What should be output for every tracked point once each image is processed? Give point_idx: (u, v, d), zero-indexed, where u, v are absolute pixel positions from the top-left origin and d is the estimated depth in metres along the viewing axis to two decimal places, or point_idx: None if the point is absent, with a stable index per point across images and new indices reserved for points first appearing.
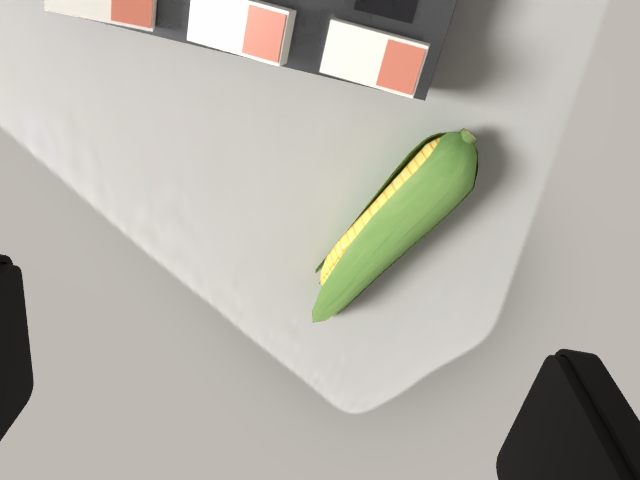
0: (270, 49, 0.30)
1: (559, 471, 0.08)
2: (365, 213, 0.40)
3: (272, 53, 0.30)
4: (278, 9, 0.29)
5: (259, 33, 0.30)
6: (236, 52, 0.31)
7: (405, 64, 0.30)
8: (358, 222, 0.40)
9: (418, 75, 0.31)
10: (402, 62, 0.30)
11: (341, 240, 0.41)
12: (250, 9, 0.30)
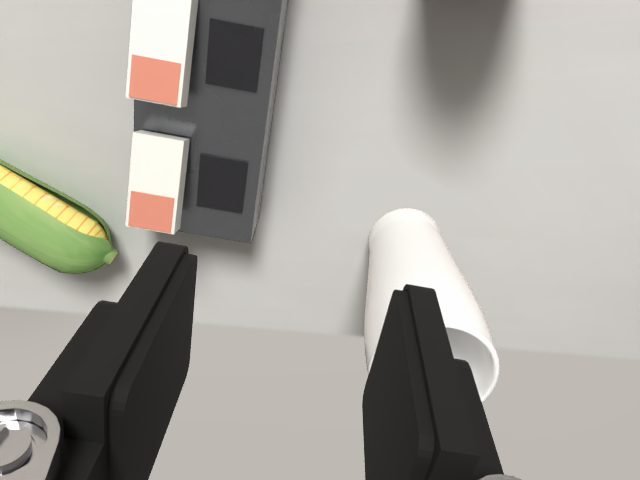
0: (140, 88, 0.29)
1: (387, 387, 0.09)
2: (2, 170, 0.36)
3: (137, 90, 0.29)
4: (180, 95, 0.29)
5: (155, 74, 0.29)
6: (131, 46, 0.28)
7: (154, 216, 0.33)
8: None
9: (147, 228, 0.33)
10: (155, 213, 0.33)
11: None
12: (176, 65, 0.28)
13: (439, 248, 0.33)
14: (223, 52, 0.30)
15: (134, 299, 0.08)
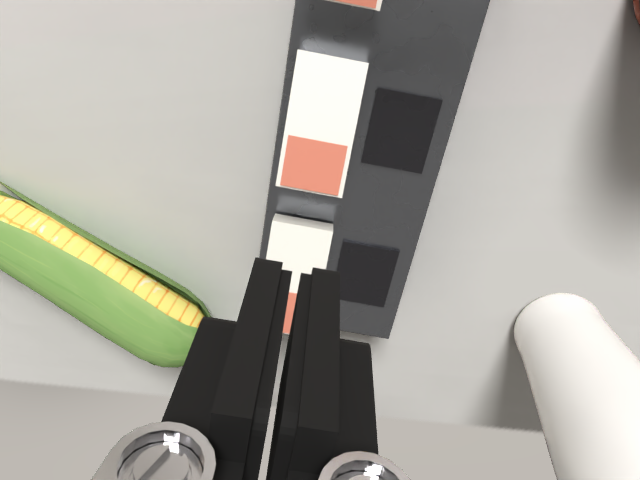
0: (295, 175, 0.23)
1: (285, 370, 0.09)
2: (96, 249, 0.31)
3: (291, 178, 0.23)
4: (343, 184, 0.23)
5: (314, 159, 0.23)
6: (287, 126, 0.23)
7: (290, 317, 0.27)
8: (81, 243, 0.31)
9: None
10: (292, 314, 0.27)
11: (49, 222, 0.31)
12: (342, 148, 0.23)
13: (633, 358, 0.27)
14: (388, 127, 0.25)
15: (251, 318, 0.08)
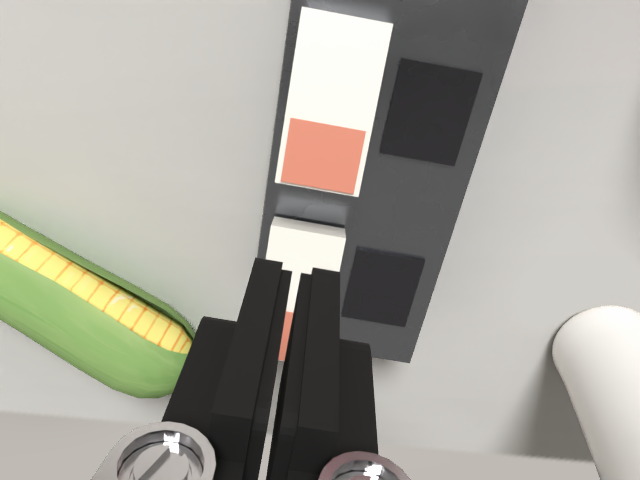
0: (300, 169, 0.18)
1: (285, 370, 0.09)
2: (59, 261, 0.26)
3: (294, 172, 0.18)
4: (360, 179, 0.19)
5: (323, 148, 0.18)
6: (289, 106, 0.18)
7: None
8: (41, 253, 0.26)
9: (282, 359, 0.22)
10: None
11: (3, 228, 0.26)
12: (358, 134, 0.18)
13: None
14: (414, 108, 0.20)
15: (251, 318, 0.08)
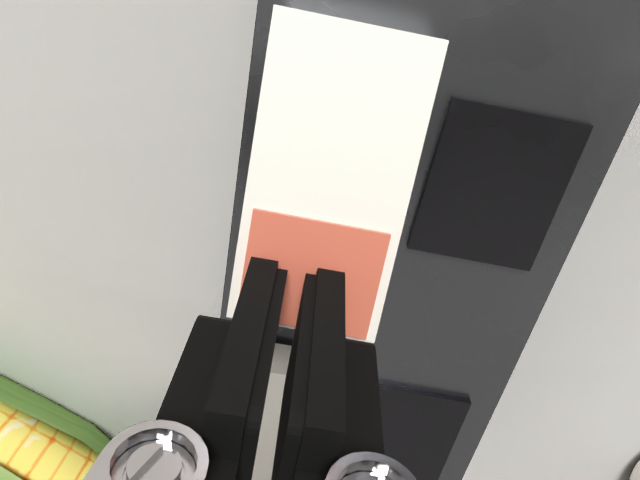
0: None
1: (290, 370, 0.09)
2: None
3: None
4: (378, 314, 0.11)
5: (314, 261, 0.10)
6: (251, 188, 0.10)
7: None
8: None
9: None
10: None
11: None
12: (377, 241, 0.10)
13: None
14: (470, 180, 0.12)
15: (246, 316, 0.08)
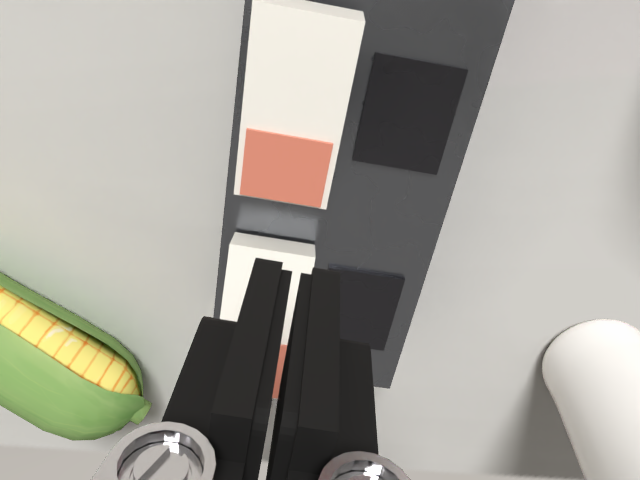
0: (260, 182, 0.17)
1: (285, 370, 0.09)
2: None
3: (254, 185, 0.17)
4: (328, 191, 0.17)
5: (286, 160, 0.16)
6: (244, 115, 0.16)
7: None
8: None
9: None
10: None
11: None
12: (325, 147, 0.16)
13: None
14: (391, 110, 0.17)
15: (251, 318, 0.08)
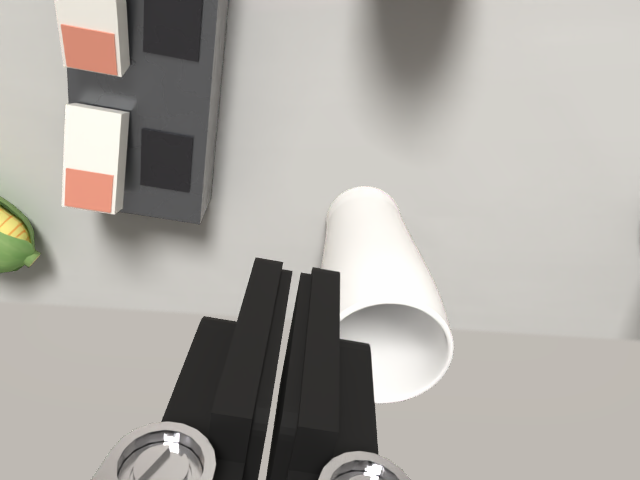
0: (77, 58, 0.28)
1: (285, 370, 0.09)
2: None
3: (73, 61, 0.28)
4: (120, 65, 0.28)
5: (89, 44, 0.27)
6: (58, 16, 0.26)
7: (93, 195, 0.31)
8: None
9: (85, 208, 0.31)
10: (94, 192, 0.31)
11: None
12: (109, 36, 0.27)
13: (395, 225, 0.32)
14: (160, 17, 0.28)
15: (251, 318, 0.08)
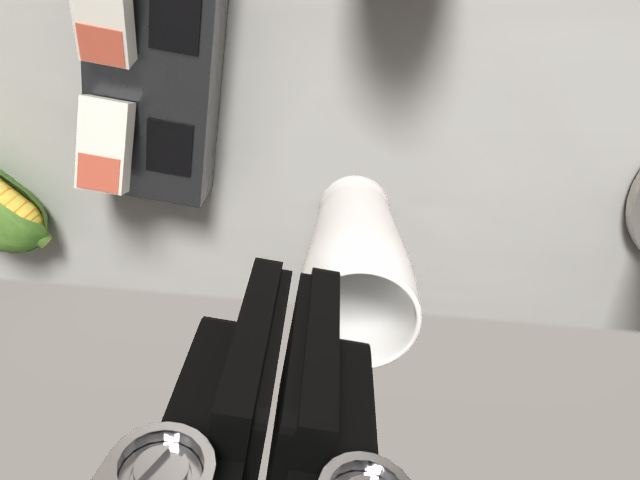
0: (89, 53, 0.31)
1: (285, 370, 0.09)
2: None
3: (87, 55, 0.31)
4: (127, 59, 0.31)
5: (100, 41, 0.31)
6: (73, 15, 0.30)
7: (102, 178, 0.34)
8: None
9: (95, 190, 0.34)
10: (103, 174, 0.34)
11: None
12: (117, 33, 0.30)
13: (378, 209, 0.34)
14: (164, 16, 0.31)
15: (251, 317, 0.08)
